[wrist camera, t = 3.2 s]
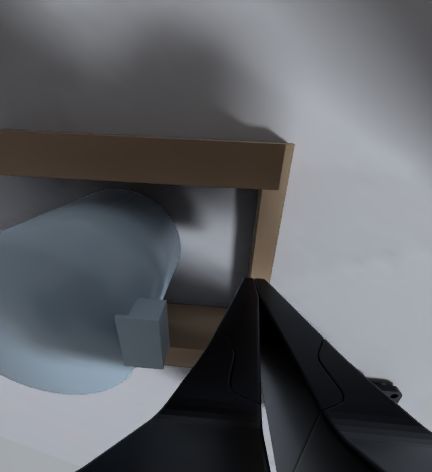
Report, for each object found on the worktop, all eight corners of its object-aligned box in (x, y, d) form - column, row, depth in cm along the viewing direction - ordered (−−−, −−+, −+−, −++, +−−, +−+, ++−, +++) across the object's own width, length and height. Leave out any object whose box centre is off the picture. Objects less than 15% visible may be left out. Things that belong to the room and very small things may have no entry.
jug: (193, 291, 13) (166, 406, 7) (46, 280, 13) (-86, 383, 8) (193, 192, 10) (152, 255, 5) (11, 182, 11) (-220, 231, 5)
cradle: (257, 326, 14) (263, 373, 11) (62, 311, 14) (22, 353, 11) (288, 143, 9) (312, 145, 6) (1, 129, 10) (-89, 126, 7)
